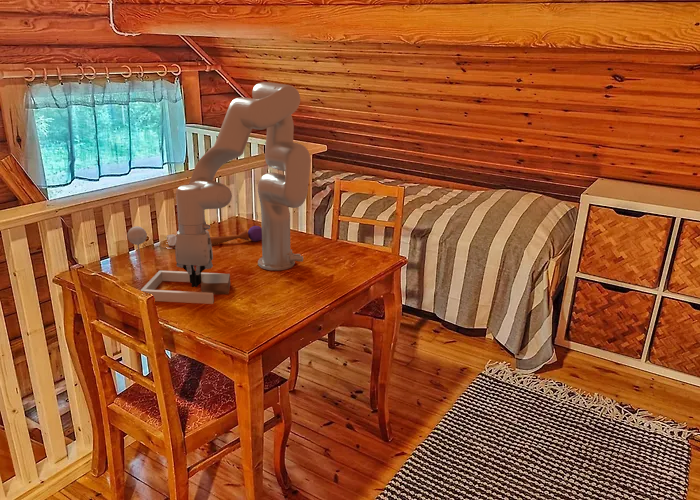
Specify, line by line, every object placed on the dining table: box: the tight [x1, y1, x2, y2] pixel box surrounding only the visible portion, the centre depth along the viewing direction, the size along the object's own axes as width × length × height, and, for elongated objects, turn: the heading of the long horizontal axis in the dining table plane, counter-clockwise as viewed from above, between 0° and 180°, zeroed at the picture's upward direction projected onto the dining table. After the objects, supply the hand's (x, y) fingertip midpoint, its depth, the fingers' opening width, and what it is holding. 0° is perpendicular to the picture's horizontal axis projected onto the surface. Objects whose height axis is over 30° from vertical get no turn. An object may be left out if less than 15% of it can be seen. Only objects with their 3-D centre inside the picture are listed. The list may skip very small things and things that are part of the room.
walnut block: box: [200, 273, 231, 295], centre depth 174 cm, size 8×7×4 cm
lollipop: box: [126, 225, 148, 271], centre depth 184 cm, size 6×6×15 cm
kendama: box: [210, 225, 262, 247], centre depth 213 cm, size 6×6×20 cm
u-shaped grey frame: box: [140, 270, 222, 305], centre depth 172 cm, size 21×15×3 cm
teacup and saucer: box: [166, 233, 177, 250], centre depth 209 cm, size 9×8×4 cm
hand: (195, 285), depth 172 cm, fingers closed
